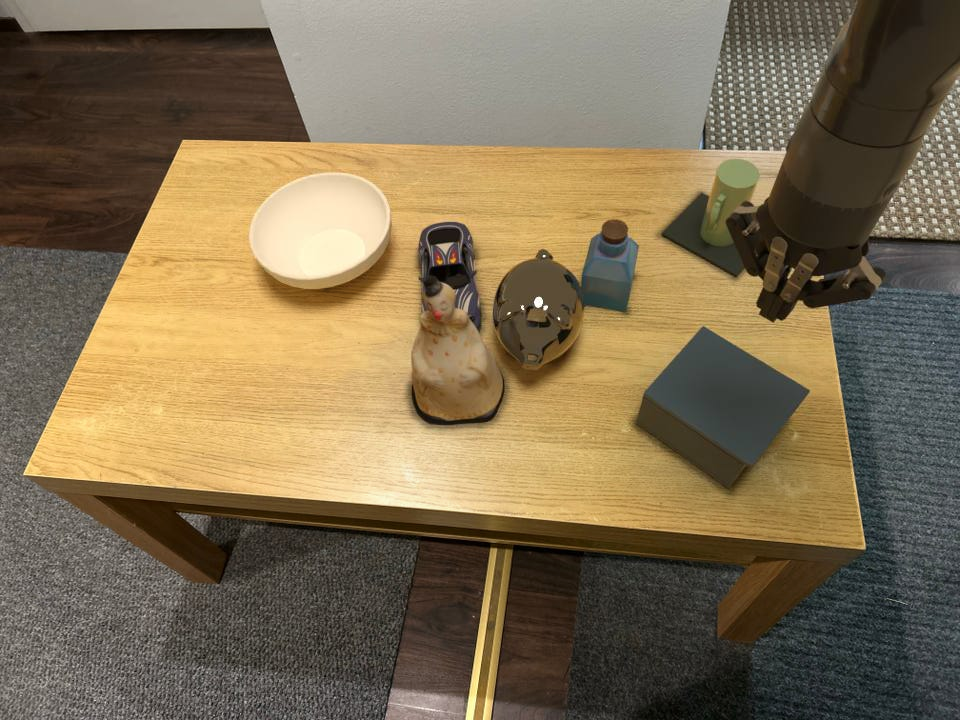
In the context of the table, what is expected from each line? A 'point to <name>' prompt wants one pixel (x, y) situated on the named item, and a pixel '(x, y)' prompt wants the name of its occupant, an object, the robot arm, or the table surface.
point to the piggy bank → (538, 310)
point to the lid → (726, 395)
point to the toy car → (451, 264)
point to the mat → (689, 237)
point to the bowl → (321, 230)
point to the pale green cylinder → (727, 198)
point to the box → (689, 443)
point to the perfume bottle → (609, 267)
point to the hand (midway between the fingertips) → (771, 312)
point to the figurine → (452, 364)
